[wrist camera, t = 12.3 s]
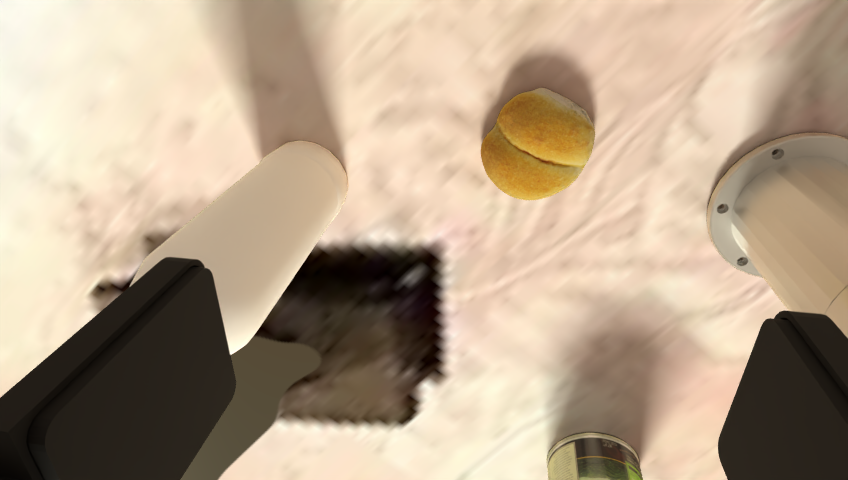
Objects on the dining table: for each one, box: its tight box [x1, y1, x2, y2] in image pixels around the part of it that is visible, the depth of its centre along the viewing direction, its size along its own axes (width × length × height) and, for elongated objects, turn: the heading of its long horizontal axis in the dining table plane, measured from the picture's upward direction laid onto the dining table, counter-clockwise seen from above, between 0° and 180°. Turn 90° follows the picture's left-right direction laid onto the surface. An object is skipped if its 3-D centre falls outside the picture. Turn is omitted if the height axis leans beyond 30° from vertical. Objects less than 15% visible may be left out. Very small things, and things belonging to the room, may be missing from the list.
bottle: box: [130, 140, 348, 355], centre depth 36 cm, size 8×8×30 cm
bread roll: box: [481, 88, 595, 200], centre depth 43 cm, size 8×9×4 cm
